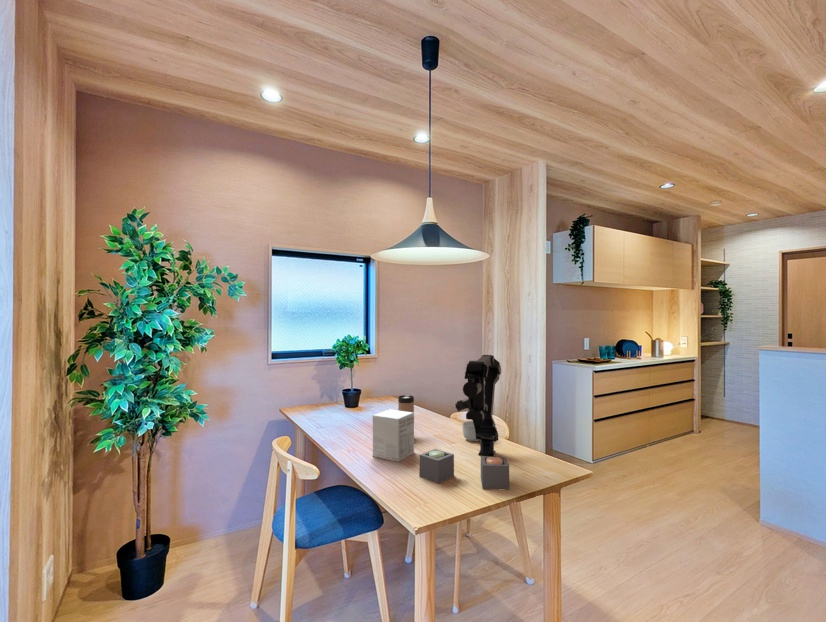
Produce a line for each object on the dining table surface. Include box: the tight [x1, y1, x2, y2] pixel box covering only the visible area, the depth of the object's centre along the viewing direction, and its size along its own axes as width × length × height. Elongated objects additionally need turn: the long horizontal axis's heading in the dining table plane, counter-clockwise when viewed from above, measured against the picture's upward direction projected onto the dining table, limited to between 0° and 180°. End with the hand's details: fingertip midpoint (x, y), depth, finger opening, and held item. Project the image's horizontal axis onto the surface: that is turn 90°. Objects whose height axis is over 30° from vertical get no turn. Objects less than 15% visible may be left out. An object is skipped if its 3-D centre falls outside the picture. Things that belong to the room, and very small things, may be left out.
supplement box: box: [372, 409, 415, 463], centre depth 174 cm, size 13×13×18 cm
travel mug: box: [397, 394, 415, 413], centre depth 197 cm, size 8×8×20 cm
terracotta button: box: [486, 456, 503, 465], centre depth 143 cm, size 6×6×3 cm
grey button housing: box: [418, 448, 455, 484], centre depth 150 cm, size 9×9×8 cm
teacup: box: [461, 420, 480, 442], centre depth 196 cm, size 14×11×8 cm
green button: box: [429, 450, 445, 459], centre depth 150 cm, size 6×6×3 cm
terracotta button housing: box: [480, 455, 510, 490], centre depth 143 cm, size 9×9×8 cm
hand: (477, 433), depth 160 cm, fingers closed
